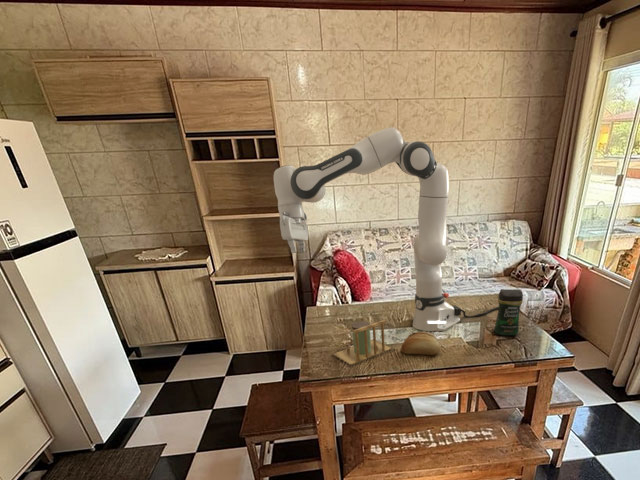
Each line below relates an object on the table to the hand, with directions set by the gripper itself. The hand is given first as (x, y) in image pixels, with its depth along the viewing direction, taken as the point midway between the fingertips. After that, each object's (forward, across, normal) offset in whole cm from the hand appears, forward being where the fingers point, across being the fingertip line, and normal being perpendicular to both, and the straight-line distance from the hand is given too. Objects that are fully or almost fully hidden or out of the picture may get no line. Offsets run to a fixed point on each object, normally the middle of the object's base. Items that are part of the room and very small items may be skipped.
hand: (298, 253), depth 155 cm
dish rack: (+40, -4, -20) cm, 45 cm away
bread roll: (+43, -3, -42) cm, 60 cm away
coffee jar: (+42, +17, -78) cm, 90 cm away
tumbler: (+40, -4, -20) cm, 44 cm away
